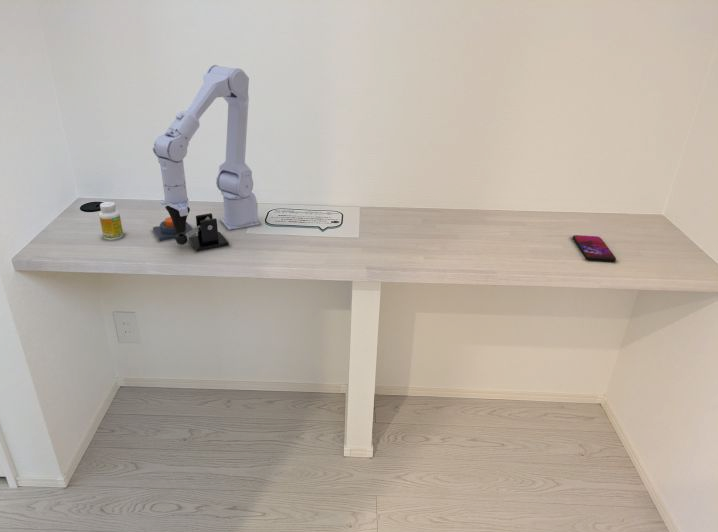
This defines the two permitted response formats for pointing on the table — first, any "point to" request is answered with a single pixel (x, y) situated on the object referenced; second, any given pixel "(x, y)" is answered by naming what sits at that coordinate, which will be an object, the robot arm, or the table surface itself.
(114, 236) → the supplement bottle
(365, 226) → the table surface
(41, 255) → the table surface
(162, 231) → the button box
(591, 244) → the smartphone
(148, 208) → the table surface
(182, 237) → the switch lever
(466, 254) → the table surface
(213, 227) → the switch bracket
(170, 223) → the button
